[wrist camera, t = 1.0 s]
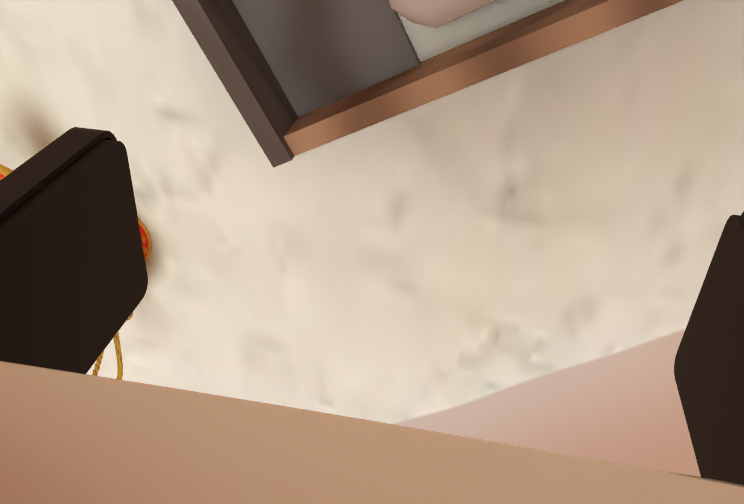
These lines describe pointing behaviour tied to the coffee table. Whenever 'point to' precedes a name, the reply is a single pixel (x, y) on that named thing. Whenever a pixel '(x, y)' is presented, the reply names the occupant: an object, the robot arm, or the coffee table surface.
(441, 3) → the tube
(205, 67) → the coffee table surface
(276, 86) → the trap channel
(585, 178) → the coffee table surface
